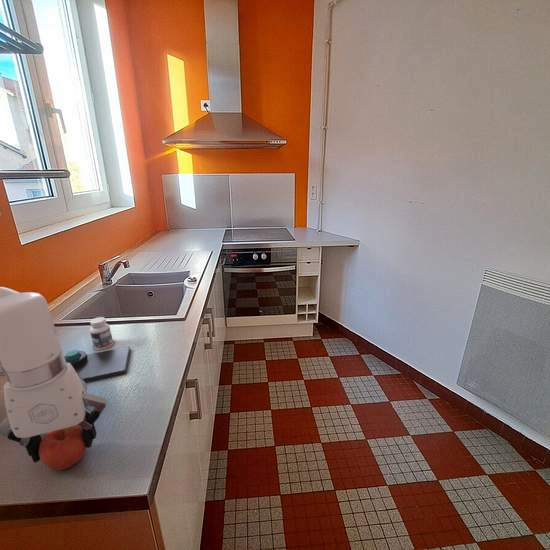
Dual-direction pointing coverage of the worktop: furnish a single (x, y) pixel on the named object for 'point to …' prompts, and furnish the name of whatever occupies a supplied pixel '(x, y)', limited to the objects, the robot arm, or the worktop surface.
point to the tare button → (72, 355)
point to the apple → (62, 447)
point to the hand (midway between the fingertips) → (65, 447)
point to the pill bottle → (100, 333)
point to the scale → (101, 364)
